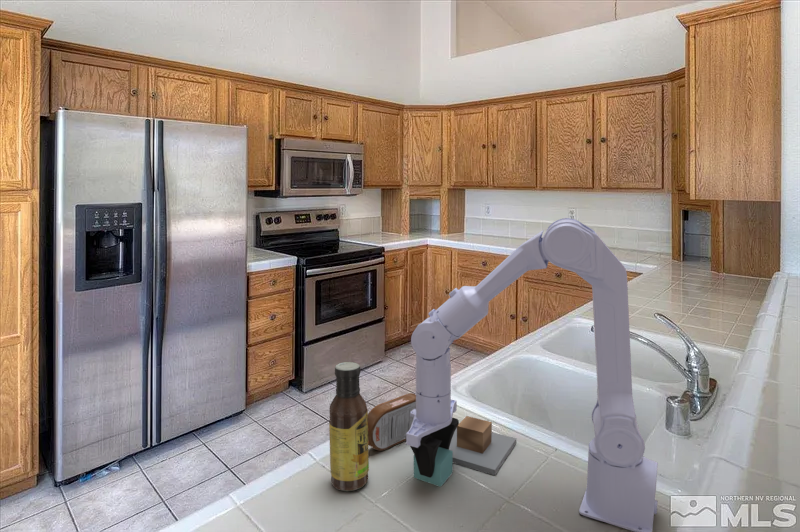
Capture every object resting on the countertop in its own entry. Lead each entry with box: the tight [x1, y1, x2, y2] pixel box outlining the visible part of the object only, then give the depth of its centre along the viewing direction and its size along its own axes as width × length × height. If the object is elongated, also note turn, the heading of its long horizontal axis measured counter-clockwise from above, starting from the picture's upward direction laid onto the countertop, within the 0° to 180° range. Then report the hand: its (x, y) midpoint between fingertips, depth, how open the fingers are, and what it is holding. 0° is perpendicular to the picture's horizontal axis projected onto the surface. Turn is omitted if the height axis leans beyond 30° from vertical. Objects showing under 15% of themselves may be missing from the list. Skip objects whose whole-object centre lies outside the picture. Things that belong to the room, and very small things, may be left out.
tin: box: [368, 392, 416, 452], centre depth 90 cm, size 15×3×8 cm, turn 132°
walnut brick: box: [457, 415, 493, 454], centre depth 87 cm, size 5×4×4 cm
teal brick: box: [413, 447, 454, 488], centre depth 80 cm, size 5×4×4 cm
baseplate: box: [449, 428, 517, 476], centre depth 88 cm, size 12×12×1 cm
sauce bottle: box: [328, 361, 370, 492], centre depth 77 cm, size 6×6×20 cm
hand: (433, 467), depth 80 cm, fingers closed on teal brick, 4 cm apart
